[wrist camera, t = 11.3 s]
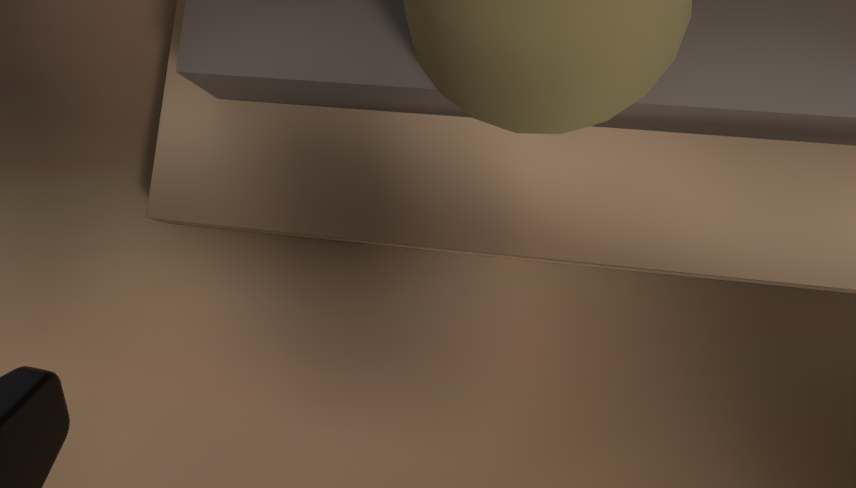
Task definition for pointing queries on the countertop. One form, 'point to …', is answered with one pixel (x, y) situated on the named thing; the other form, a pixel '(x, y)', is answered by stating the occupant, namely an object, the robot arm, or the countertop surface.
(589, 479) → the countertop surface
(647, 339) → the countertop surface
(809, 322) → the countertop surface
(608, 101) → the cork
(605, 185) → the slab
